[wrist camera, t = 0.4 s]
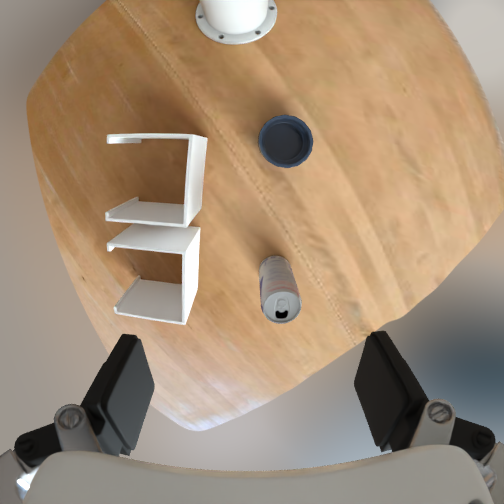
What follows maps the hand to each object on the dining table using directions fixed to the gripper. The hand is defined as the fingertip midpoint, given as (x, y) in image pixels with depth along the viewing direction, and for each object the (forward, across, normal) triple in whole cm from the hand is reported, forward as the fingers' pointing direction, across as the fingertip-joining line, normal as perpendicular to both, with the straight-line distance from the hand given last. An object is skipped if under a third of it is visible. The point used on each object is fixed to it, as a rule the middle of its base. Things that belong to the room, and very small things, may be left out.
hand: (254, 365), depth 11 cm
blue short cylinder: (+34, -5, -10) cm, 36 cm away
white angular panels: (+35, +13, +1) cm, 37 cm away
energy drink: (+35, -4, +11) cm, 37 cm away
